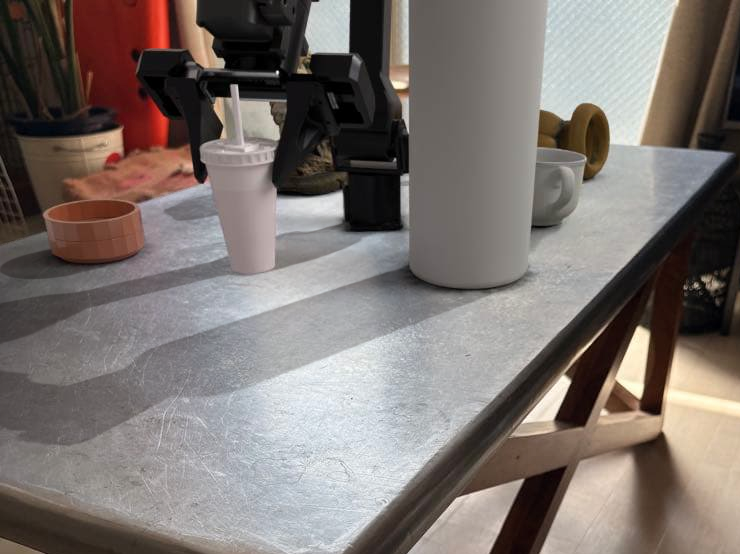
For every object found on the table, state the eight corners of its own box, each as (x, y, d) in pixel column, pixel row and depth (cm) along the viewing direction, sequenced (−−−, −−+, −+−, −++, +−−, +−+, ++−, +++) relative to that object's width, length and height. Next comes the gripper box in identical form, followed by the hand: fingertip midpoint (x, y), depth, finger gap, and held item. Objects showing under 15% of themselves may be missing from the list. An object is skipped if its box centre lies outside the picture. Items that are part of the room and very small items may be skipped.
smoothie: (220, 282, 72) (195, 92, 64) (210, 258, 77) (185, 80, 69) (297, 273, 73) (282, 87, 65) (282, 251, 78) (266, 75, 70)
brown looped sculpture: (488, 101, 139) (618, 87, 127) (482, 188, 142) (608, 183, 130) (420, 73, 125) (559, 54, 112) (415, 171, 128) (550, 162, 115)
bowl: (150, 237, 104) (144, 197, 101) (140, 263, 96) (133, 221, 93) (62, 240, 103) (53, 200, 100) (44, 267, 95) (33, 224, 92)
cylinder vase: (510, 297, 86) (529, -1, 72) (392, 283, 90) (387, -3, 76) (539, 260, 96) (561, -9, 82) (431, 249, 99) (434, -11, 85)
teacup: (486, 210, 113) (489, 143, 109) (568, 208, 114) (574, 141, 109) (505, 241, 102) (509, 168, 97) (597, 238, 103) (605, 166, 98)
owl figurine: (331, 200, 118) (324, 56, 108) (250, 195, 120) (236, 54, 111) (370, 171, 132) (367, 41, 122) (297, 167, 134) (288, 40, 125)
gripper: (123, -73, 66) (77, 113, 64) (359, -75, 62) (319, 123, 60) (185, 35, 77) (148, 198, 75) (390, 39, 73) (357, 211, 71)
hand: (236, 183), depth 70 cm, fingers closed on smoothie, 6 cm apart
